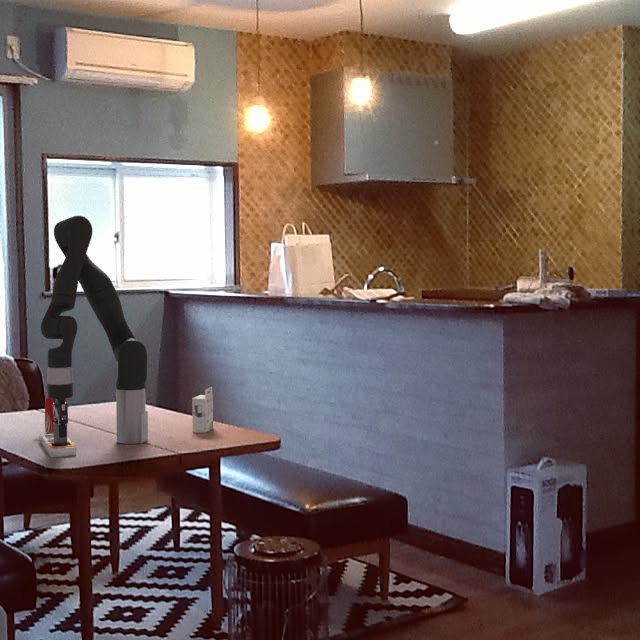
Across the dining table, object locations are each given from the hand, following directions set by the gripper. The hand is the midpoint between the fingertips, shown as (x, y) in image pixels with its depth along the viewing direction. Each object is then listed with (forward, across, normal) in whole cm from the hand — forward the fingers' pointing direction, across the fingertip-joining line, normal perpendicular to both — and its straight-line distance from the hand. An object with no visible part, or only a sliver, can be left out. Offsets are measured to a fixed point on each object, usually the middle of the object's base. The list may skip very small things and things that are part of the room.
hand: (60, 435), depth 303 cm
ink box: (+6, +23, -50) cm, 56 cm away
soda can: (+6, +35, -3) cm, 36 cm away
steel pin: (+6, 0, 0) cm, 6 cm away
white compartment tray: (+6, +8, 0) cm, 10 cm away
